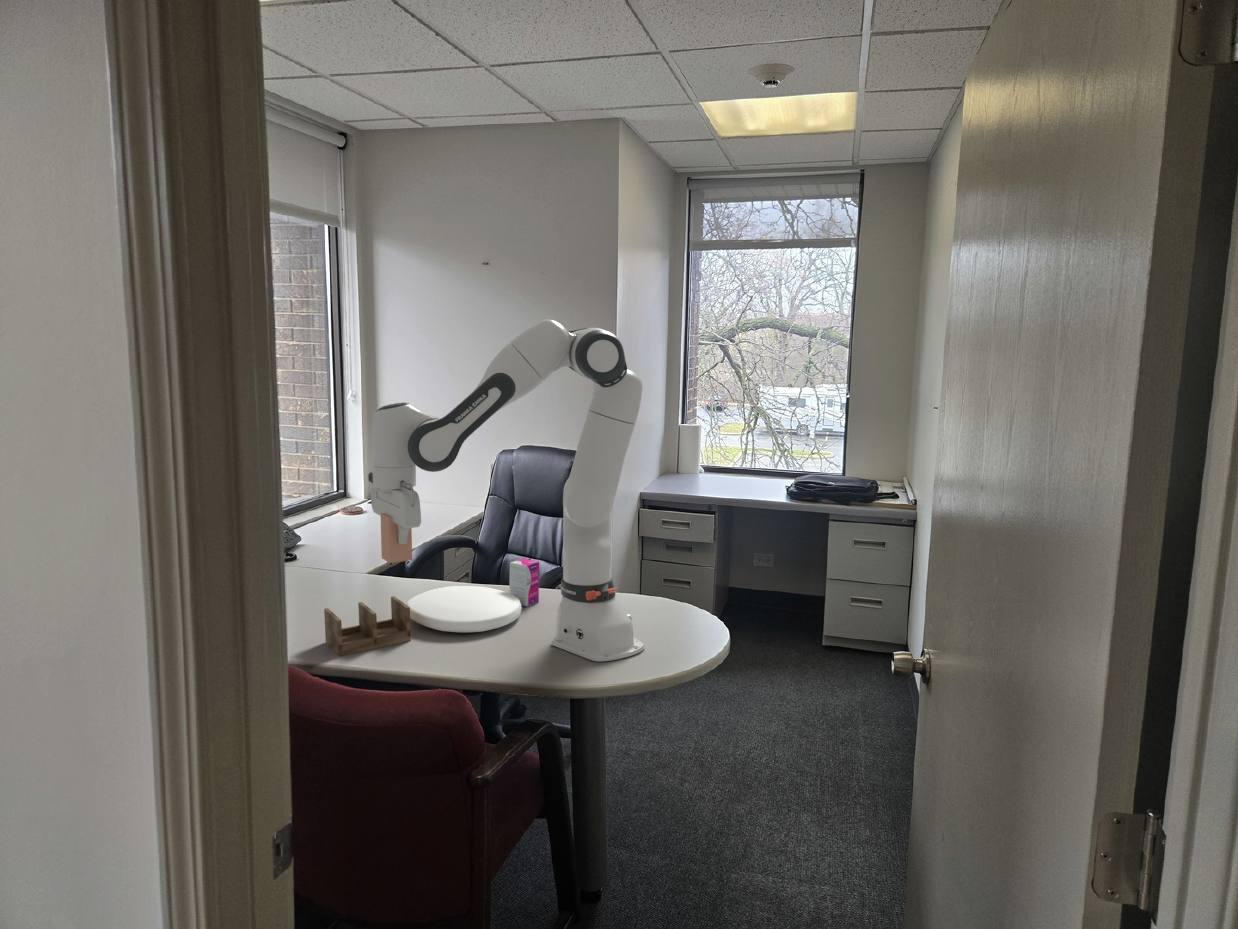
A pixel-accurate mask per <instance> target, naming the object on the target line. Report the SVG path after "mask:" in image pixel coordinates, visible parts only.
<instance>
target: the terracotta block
mask: <svg viewBox="0 0 1238 929" xmlns="http://www.w3.org/2000/svg"><path fill="white" fill-rule="evenodd" d="M379 517H380V545H381V546H380V547H381V559H383V560H384V561H386V562H387V563H389V564H393V563H394V564H395V563H402V562H407V561H413V540H412V537H413V536H412V535H413V534H412V531H413V530H412V529H413V528H410V529H409V532H408V536H407V543H406V544H399V543H397V535H398V533H399V529H398V525H397V524H395V523H394V522H393V521H392V517H390V516H388V515H386V514H384V513H381V514H380V515H379Z"/></svg>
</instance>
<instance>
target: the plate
mask: <svg viewBox="0 0 1238 929" xmlns="http://www.w3.org/2000/svg"><path fill="white" fill-rule="evenodd" d="M406 605H407V606H409V607H410V620H413V621H414V622H416V623H418V624H419V625H422V626H424V627H427V628H430V629H432V630H437V631H441V632H450V633H482V632H486V631H491V630H494V629H498V628H501V627H504V626H506V625H509V624H511V623H512V622H514V621H516V620H517V619H518V618H519V617H520V615H521V613H522V607H521V603H520V600H519V599H518V598H517V597H515V596H513V595H512V594H509V592H506V591H504V590H501V589H498V588H497V589H496V588H493V587H492V588H491V587H487V586H486V587H485V586H473V585H450V586H449V585H448V586H445V587H438V588H434V589H430V590H429V589H428V590H427V591H424V592H421V593H419V594H417V595H414V596H413V597H412V598H410V599H409V600H408V601H407V603H406Z"/></svg>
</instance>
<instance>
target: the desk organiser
mask: <svg viewBox="0 0 1238 929" xmlns="http://www.w3.org/2000/svg"><path fill="white" fill-rule="evenodd" d="M357 603H358V606H357V607H358V625H353V626H349V627H344V628H343V626H342V620H341V619H340V618H339V616H337V615H336V614H335V613H334V612H333V611H332V610H331V609H329V608H328V607H327V608H323V612H324V613H323V614H324V631H325V633H324V634H325V643H326V644H327V645H328V644H329V645H328V647H330V648H331V649H332V650H333V651H334V653H335V654H337V655H338V656H339V657H340V656H341V657H342V656H345V655H349V654H355V652H356V653H360V652H364V651H363V650H365V651H369V650H373V649H378V648H383V647H382V646H384V647H388V646H392V644H393V645H397V644H403V643H407V642H411V640H412V637H411V636H412V634H411V633H412V632H411V630H412V628H411V619H410V607H409V606H407V603H406V604H405V603H404V602H403V601H402V600H400V599H399V598H397V597H396V596H394V595H392V596H390V605H391V606H390V609H391V612H390V614H391V618H389V619H384V620H380V621H379V620H378V621H377V618H378V616H377V613H376V612H375V611H374V610H373V609H371V608H370V607H369V606H367V605H366V604H365V603H364V602H362V601H360V602H357ZM387 645H388V646H387ZM359 651H360V652H359Z"/></svg>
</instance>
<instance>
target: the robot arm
mask: <svg viewBox="0 0 1238 929" xmlns="http://www.w3.org/2000/svg"><path fill="white" fill-rule="evenodd" d="M564 367H565V368H566V367H568V368H569V369H571V370H572V371H574V372H576V373H577V374H578V375H580V376H582V377H583V378H587V379H589V380H591V382H592V386H593V394H592V399H591V402H590V404H589V408H588V411H587V414H586V416H585V421H584V423H583V427H582V430H581V435H580V438H579V440H578V444H577V446H576V452H575V455H574V459H573V463H572V467H571V469H570V470H571V471H570V473H569V477H568V478H567V480H566V481H565V484H564V486H563V492H562V506H563V511H562V512H563V513H562V514H563V520H562V521H563V522H562V524H563V527H562V529H563V531H562V532H563V534H562V535H563V536H562V537H563V538H562V544H563V545H562V550H563V552H562V568H563V569H562V575H563V576H562V578H561V581H560V589H561V590H560V594H561V596H562V599H561V601H560V603H559V605H558V608H557V612H556V613H557V614H556V624H555V635H554V637H552V639H551V642H550V645H551V646H553V647H557V648H559V649H561V650H564V651H567V652H569V653H572V654H575V655H577V656H580V657H582V658H585V659H588V660H589V661H591V662H592V661H593V662H609V661H616V660H620V659H624V658H629V657H631V656H634V655H637V654H639V653H641V652H642V651H643V650H644V649H645V645H644V643H643V642H641V641H640V640H639V639H638V638H636V637H635V636H634V626H633V619H632V616H631V614H630V613H626V611H625V610H624V608H623V607H622V605H621V604H620V603H619V601H618V600H617V598H616V593H618V591H617V589H618V587H617V586H616V587H615V585H614V582H613V579H612V577H611V576H612V575H611V574H612V573H611V569H612V563H611V562H612V560H611V558H612V554H611V553H612V541H611V540H612V539H611V537H612V536H611V511H612V508H613V505H614V501H615V498H616V494H617V491H618V486H619V483H620V479H621V476H622V471H623V467H624V464H625V463H624V462H625V458H626V455H627V451H628V448H629V446H630V442H631V439H632V435H633V432H634V429H635V426H636V423H637V419H638V416H639V410H640V408H641V407H640V406H641V401H642V394H643V382H642V379H641V378H640V377H639V375H638V374H636V373H635V372H634V371H632V370H630V369H628V365H627V361H626V357H625V350H624V346H623V344H622V342H621V341H620V339H619V338H618V337H617V336H616V335H615V334H614V333H613V332H610V331H608V330H605V329H603V328H599V327H587V328H586V327H585V328H580V329H575V330H569V331H568V330H567V329H566V327H564V326H563V324H561V323H559V322H558V321H557V320H554V319H550V318H549V319H548V318H545V319H542V320H541V321H538V322H537V323H535V324H534V325H532V326H530V327H528V328H527V329H526V330H524V331H522V332H521V333H520V334H519V335H517V336H516V337H515V338H514V339H513V340H511V341H510V342H509V343H508V344H506V345H505V346H504V347H503V348H502V349H501V350H500V351H499V352H498V353H497V354H496V356H494V358H493V359H492V360H491V361H490V363H489V365H488V366H487V368H486V370H485V373H484V374H483V375H482V378H481V380H480V382H479V383H478V384H477V386H476V388H474V390H473V391H472V392H471V393H470V394H468V396H467V397H465V398H464V399H463V400H462V401H461V402H460V403H458V405H456V406H455V407H454V408H453V409H452V410H451V411H450V412H448V413H447V414H446V415H445V416H443V417H442V418H441V417H437V416H434V415H431V414H428V413H425V412H424V411H422V410H419V409H418V408H416V407H415V406H413V405H412V404H411V403H409V402H395V403H390V404H387V405H383V406H381V407H379V408H378V409H377V410H376V411H375V412H374V415H373V419H372V435H371V436H372V437H371V438H372V448H373V451H374V459H373V463H372V466H373V467H372V468H373V469H372V470H370V471H369V472H368V473H367V482H368V483H370V484H369V491H370V502H371V503H370V505H371V509H372V512H373V513H374V514H376V515H378V516H380V514H381V513H384V514H386V515H388V516H390V517H392V521H393V522H394V523H395V524H397V525H398V529H399V533H398V535H397V543H399V544H406V543H407V536H408V532H409V529H410V528H412V529H414V528H415V529H416V528H420V526H421V524H422V512H421V511H422V510H421V500H420V495H419V493H418V492H417V491H416V490H414V487H415V486H416V485H417V470H416V468H419V469H420V470H422V471H425V472H431V473H432V472H433V473H436V472H441V471H443V470H446V469H447V468H449V467H450V466H451V465H452V464H453V463H455V460H456V459H457V457H458V455H459V452H460V450H461V448H462V446H463V444H464V442H465V441H466V440H467V439H468V438H469V437H470V436H471V435H473V433H474V432H475V431H477V430H478V429H479V428H480V427H482V425H483V424H484V423H486V421H487V422H488V420H489V419H490V418H491V417H492V416H494V415H495V413H497V412H499V411H500V410H501V409H503V408H504V407H506V406H508V405H510V404H512V403H514V402H516V401H517V400H519V399H521V398H523V397H525V396H526V395H527V394H529V393H531V392H532V391H533V390H535V389H536V388H538V386H539V385H541V384H542V383H544V381H546V380H547V378H549V377H550V376H551V375H552V374H553V373H555V372H556V371H557V370H560V369H561V368H562V369H563V368H564Z"/></svg>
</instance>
